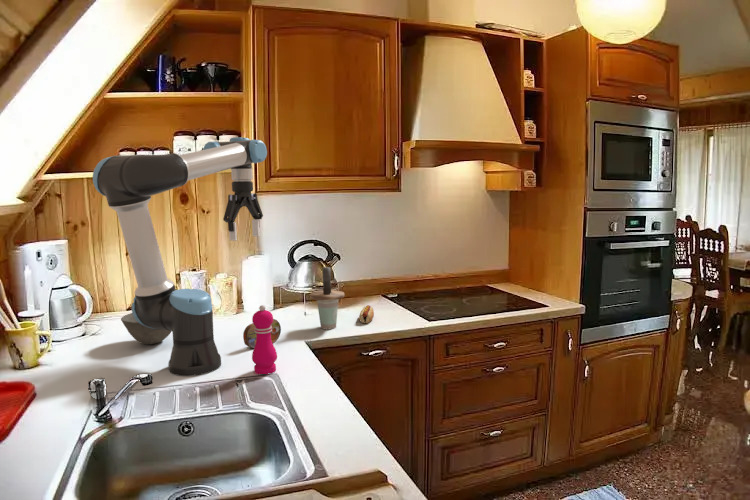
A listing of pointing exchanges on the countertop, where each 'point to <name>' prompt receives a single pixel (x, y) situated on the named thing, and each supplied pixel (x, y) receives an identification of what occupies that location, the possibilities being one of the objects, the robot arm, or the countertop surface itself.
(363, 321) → the food
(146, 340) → the bowl
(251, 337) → the tin
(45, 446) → the countertop surface
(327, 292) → the walnut lid
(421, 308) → the countertop surface
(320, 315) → the coffee cup
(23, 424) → the countertop surface
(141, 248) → the robot arm
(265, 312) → the pepper mill
